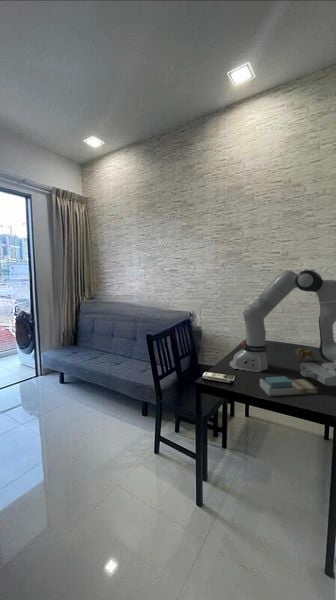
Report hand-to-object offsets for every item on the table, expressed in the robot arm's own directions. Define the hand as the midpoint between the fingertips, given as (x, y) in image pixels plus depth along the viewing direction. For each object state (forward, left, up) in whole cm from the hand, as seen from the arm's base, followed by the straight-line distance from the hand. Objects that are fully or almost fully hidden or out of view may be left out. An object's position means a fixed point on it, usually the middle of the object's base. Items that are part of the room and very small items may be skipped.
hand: (302, 373), depth 122 cm
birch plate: (-1, 0, -8) cm, 8 cm away
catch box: (-12, -3, -8) cm, 15 cm away
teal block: (-7, -2, -5) cm, 8 cm away
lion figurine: (+15, +42, -8) cm, 45 cm away
